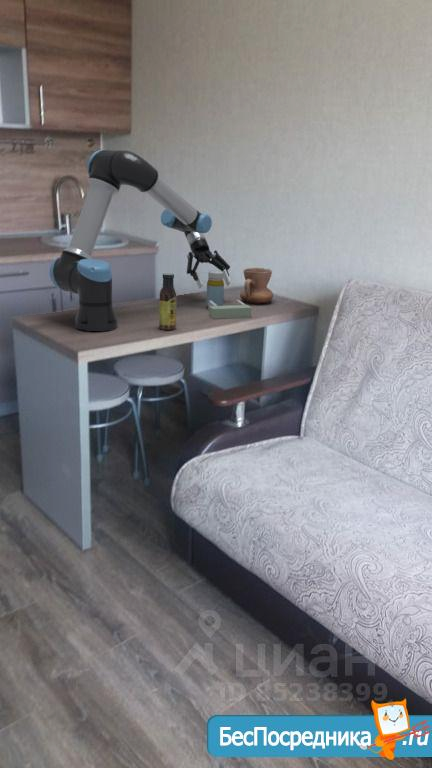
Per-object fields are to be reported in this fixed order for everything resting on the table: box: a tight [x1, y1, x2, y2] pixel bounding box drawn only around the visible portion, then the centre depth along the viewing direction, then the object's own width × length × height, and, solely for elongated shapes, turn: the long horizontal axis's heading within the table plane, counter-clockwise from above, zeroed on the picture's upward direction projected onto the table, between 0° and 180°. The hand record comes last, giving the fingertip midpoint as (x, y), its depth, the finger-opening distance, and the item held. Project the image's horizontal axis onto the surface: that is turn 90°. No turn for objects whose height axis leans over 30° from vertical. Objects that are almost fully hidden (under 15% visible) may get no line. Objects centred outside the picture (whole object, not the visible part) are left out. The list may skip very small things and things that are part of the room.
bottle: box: [205, 270, 225, 309], centre depth 250 cm, size 7×7×15 cm
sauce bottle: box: [158, 272, 178, 331], centre depth 217 cm, size 7×6×20 cm
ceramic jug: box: [239, 267, 274, 305], centre depth 263 cm, size 18×14×14 cm
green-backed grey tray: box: [207, 299, 252, 320], centre depth 242 cm, size 16×13×4 cm
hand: (215, 285), depth 251 cm, fingers open, 13 cm apart
